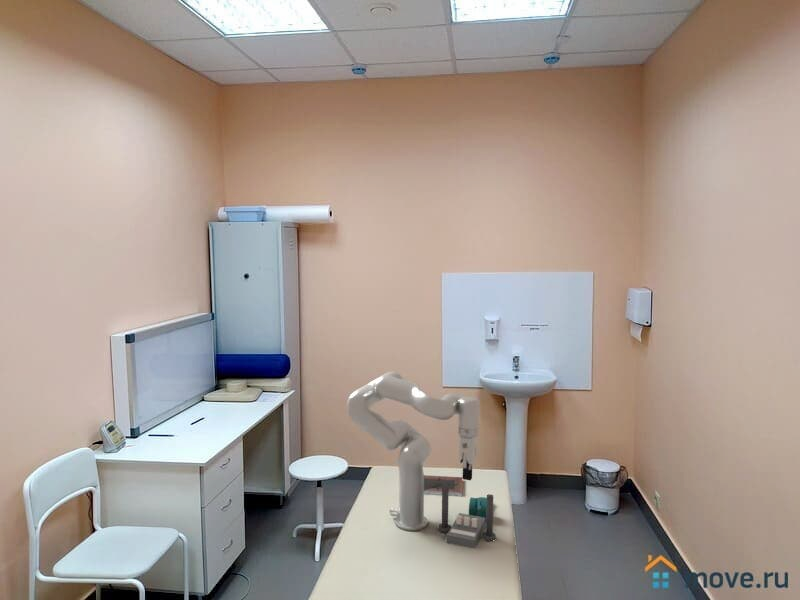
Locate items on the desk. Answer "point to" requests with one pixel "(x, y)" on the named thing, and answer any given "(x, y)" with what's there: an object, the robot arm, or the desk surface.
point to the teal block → (478, 507)
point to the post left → (444, 512)
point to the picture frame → (442, 485)
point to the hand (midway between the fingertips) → (467, 478)
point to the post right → (489, 520)
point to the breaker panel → (466, 532)
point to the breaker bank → (466, 521)
